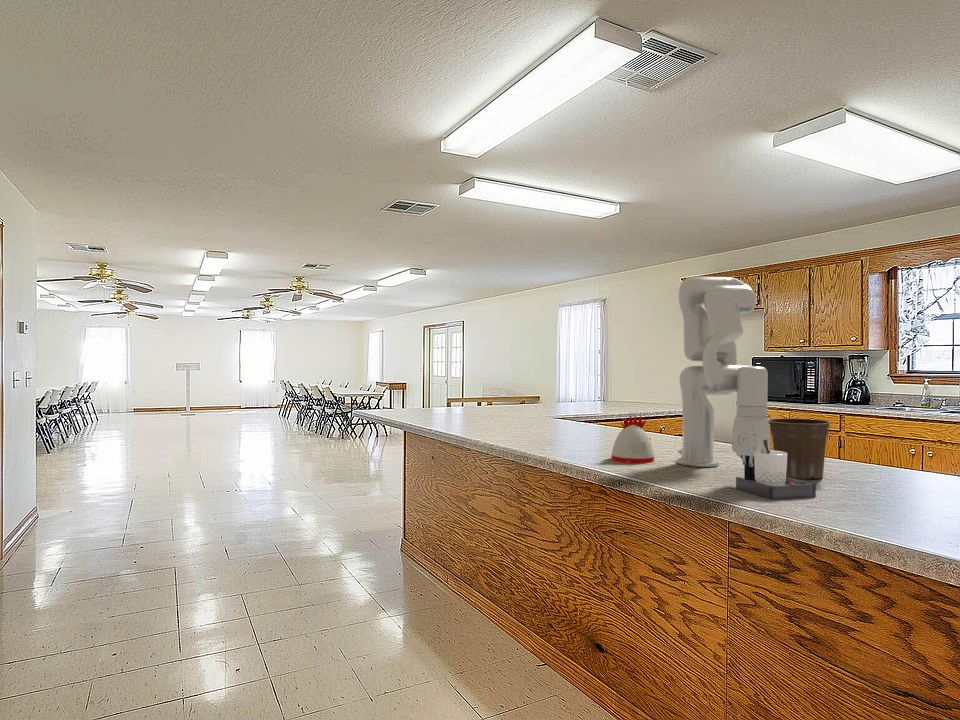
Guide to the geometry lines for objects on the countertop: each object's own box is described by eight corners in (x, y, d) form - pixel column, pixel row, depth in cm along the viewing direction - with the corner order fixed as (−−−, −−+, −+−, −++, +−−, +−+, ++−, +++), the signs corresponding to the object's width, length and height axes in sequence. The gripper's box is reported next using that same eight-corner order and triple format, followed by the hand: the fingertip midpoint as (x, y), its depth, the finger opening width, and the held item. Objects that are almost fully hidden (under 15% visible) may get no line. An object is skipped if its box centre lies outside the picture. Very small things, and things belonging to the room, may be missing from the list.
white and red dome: (659, 463, 201) (659, 417, 201) (616, 463, 201) (616, 417, 201) (648, 457, 215) (648, 413, 215) (608, 456, 215) (608, 413, 215)
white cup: (768, 495, 155) (768, 455, 155) (746, 488, 162) (747, 450, 162) (794, 493, 157) (794, 453, 157) (772, 487, 164) (772, 449, 164)
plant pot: (766, 478, 177) (766, 421, 177) (769, 469, 191) (769, 416, 191) (831, 483, 169) (831, 424, 169) (829, 474, 184) (829, 419, 184)
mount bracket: (735, 488, 162) (736, 475, 162) (776, 485, 166) (777, 473, 166) (772, 499, 150) (772, 485, 150) (816, 496, 154) (816, 482, 154)
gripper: (721, 410, 172) (721, 476, 172) (760, 415, 158) (759, 487, 158) (744, 409, 174) (744, 474, 174) (784, 414, 160) (783, 485, 160)
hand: (751, 480), depth 166 cm, fingers closed
